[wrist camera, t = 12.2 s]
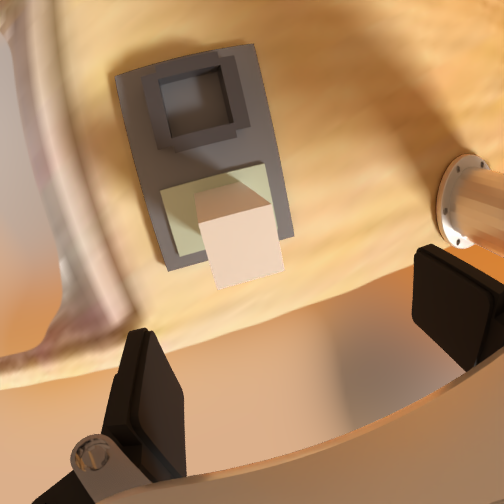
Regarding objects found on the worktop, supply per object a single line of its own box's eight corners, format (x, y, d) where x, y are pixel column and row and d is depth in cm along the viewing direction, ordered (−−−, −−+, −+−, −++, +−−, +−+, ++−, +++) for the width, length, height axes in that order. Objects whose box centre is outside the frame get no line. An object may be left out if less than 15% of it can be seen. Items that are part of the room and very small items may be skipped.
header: (251, 46, 23) (260, 34, 20) (291, 233, 30) (303, 244, 26) (117, 78, 22) (107, 70, 18) (168, 267, 28) (166, 283, 25)
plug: (240, 181, 26) (271, 204, 16) (250, 225, 27) (284, 270, 18) (193, 193, 25) (198, 223, 16) (205, 238, 27) (217, 290, 17)
